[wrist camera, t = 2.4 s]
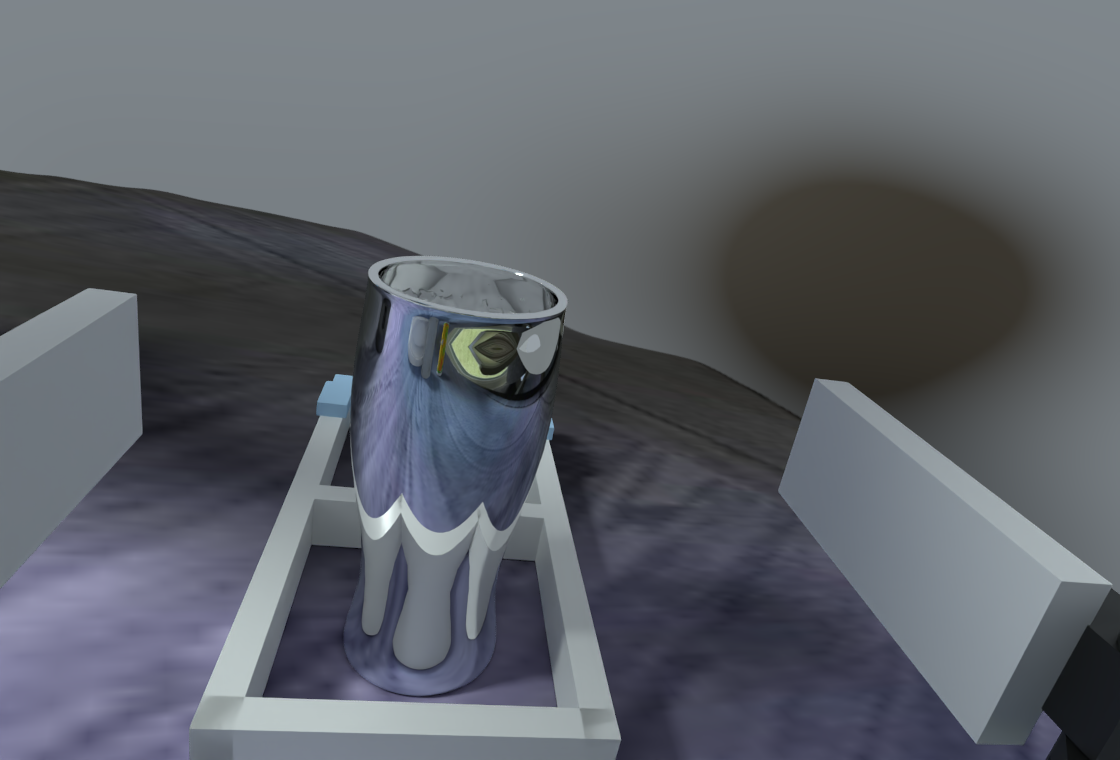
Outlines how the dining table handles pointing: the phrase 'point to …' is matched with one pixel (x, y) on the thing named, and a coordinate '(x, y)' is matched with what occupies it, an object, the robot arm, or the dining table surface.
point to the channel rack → (402, 727)
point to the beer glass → (443, 458)
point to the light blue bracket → (339, 399)
